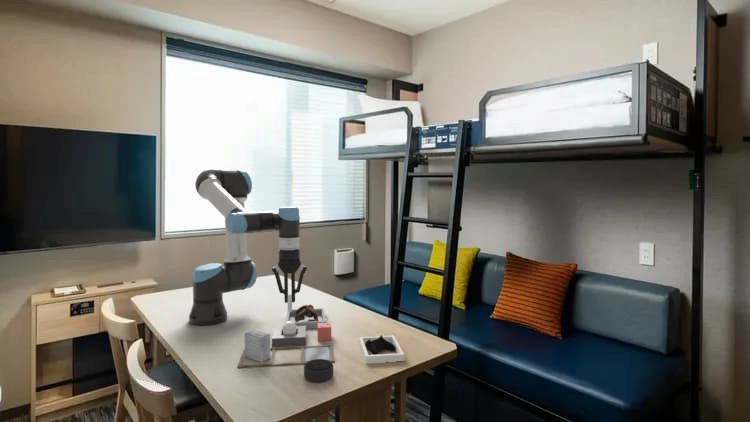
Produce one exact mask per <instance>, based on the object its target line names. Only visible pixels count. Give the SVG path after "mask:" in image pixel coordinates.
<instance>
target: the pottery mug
mask: <svg viewBox="0 0 750 422" xmlns="http://www.w3.org/2000/svg"><path fill="white" fill-rule="evenodd" d="M304 309H305V311H304V312H303V313H301V314H299V315H297V314H298V313H299V312H301V311H302V310H304ZM314 309H315V307H314V306H313V305H312V304H309V305H308V304H305V305H301V306H300V307H298V308H297V310H296V311H295V312H296V313H294V316H293V317H294V322H301V321H305V316H306V317H308V318H313V320H314V321H320V320H319V317H318V315H317V314H316V311H315V310H314Z"/></svg>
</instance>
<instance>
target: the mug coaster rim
mask: <svg viewBox="0 0 750 422" xmlns="http://www.w3.org/2000/svg"><path fill="white" fill-rule="evenodd" d="M297 309H298V308H297ZM297 309H296V308H295V309H293V308H292V312H288V309H287V311H286V318H285V323H286V322H288V321H290V317H291V316H293V317H295V316H294V313H296V312H295V311H296V310H297ZM314 310H315V311H316V314H317V316H318V315H321V320H319V321H315V320H314V321H297V322H296V321H293V322H294V323H295V324H296V326H306V330H307V329H318V323H327V321H326V314H325V313H326V312H325V308H323V307H321V308H318V307H317V308H314ZM304 311H305V309H304V310H302V311H301V312H299V313H298V314H297V315H299V314H301V313H303V312H304Z"/></svg>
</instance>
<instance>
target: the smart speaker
mask: <svg viewBox="0 0 750 422" xmlns="http://www.w3.org/2000/svg"><path fill="white" fill-rule="evenodd" d="M303 375H304V376H303V377H304V378H305V379H306V380H308V381H310V382H313V383H323V382H326V381H328V380H330V379H331V378H332V377H333V376H334V364H333V363H332V362H330V361H328V360H325V359H315V360H311V361H309V362H307V363H306V364H304V366H303Z"/></svg>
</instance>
